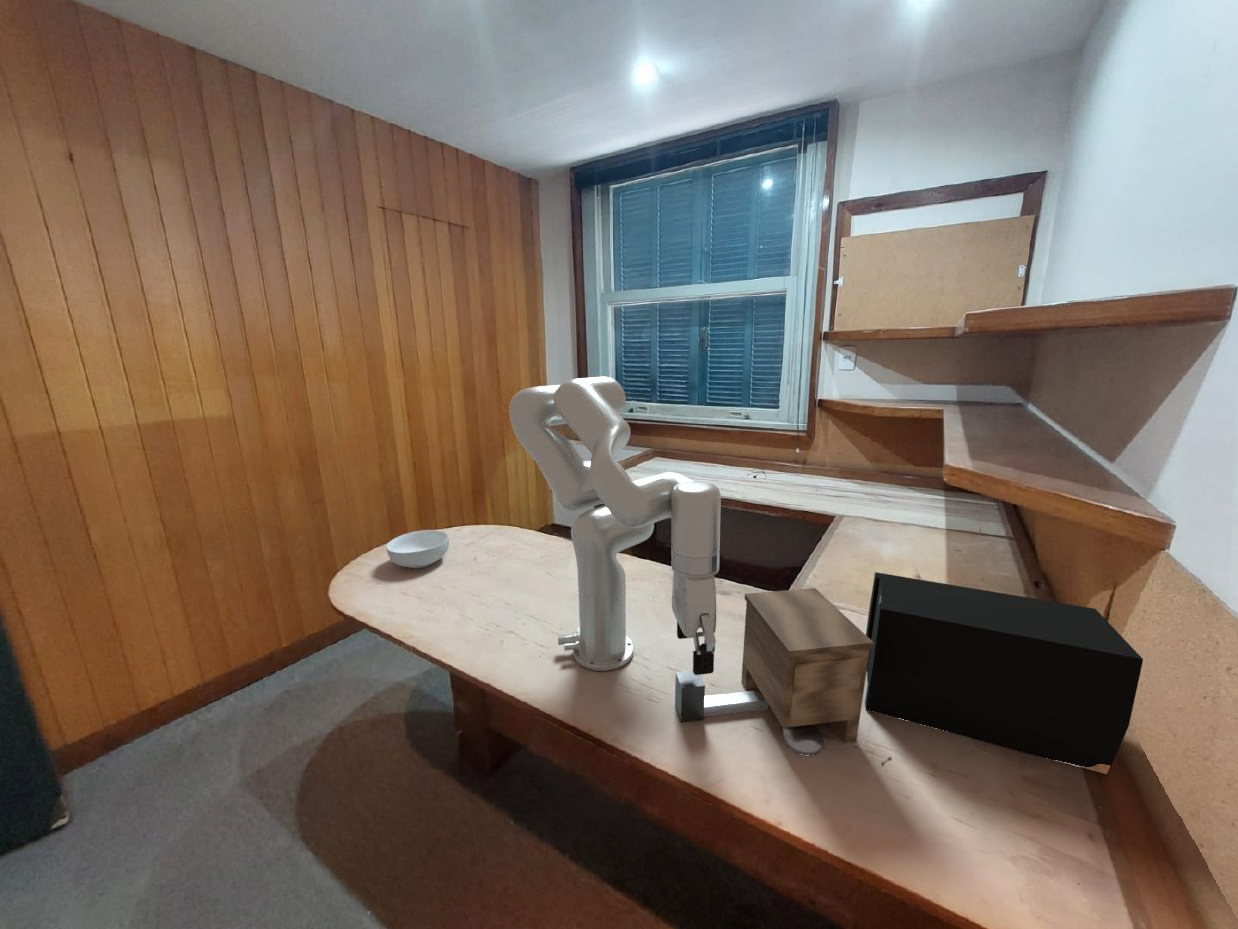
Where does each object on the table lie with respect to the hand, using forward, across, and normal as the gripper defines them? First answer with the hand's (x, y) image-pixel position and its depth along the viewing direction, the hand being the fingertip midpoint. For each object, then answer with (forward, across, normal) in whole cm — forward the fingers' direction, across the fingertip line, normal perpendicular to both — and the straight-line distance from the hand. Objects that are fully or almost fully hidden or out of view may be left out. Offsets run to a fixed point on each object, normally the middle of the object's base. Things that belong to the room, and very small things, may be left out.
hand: (694, 654), depth 80 cm
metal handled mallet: (+12, -1, +5) cm, 13 cm away
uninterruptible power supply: (+13, +6, +48) cm, 50 cm away
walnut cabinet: (+12, +1, +18) cm, 22 cm away
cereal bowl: (+10, -70, -63) cm, 94 cm away
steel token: (+13, +8, +16) cm, 22 cm away
